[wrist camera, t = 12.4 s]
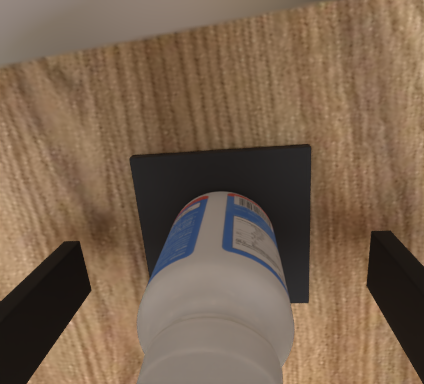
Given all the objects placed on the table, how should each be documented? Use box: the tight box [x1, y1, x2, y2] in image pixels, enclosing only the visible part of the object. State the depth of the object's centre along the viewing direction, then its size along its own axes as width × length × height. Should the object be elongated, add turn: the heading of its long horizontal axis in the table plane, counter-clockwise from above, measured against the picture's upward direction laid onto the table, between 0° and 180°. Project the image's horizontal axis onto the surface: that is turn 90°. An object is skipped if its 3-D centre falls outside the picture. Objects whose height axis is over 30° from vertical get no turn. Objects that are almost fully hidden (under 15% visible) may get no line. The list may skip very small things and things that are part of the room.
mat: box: [129, 144, 311, 303], centre depth 18 cm, size 9×9×1 cm
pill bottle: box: [136, 192, 294, 384], centre depth 13 cm, size 6×5×10 cm
